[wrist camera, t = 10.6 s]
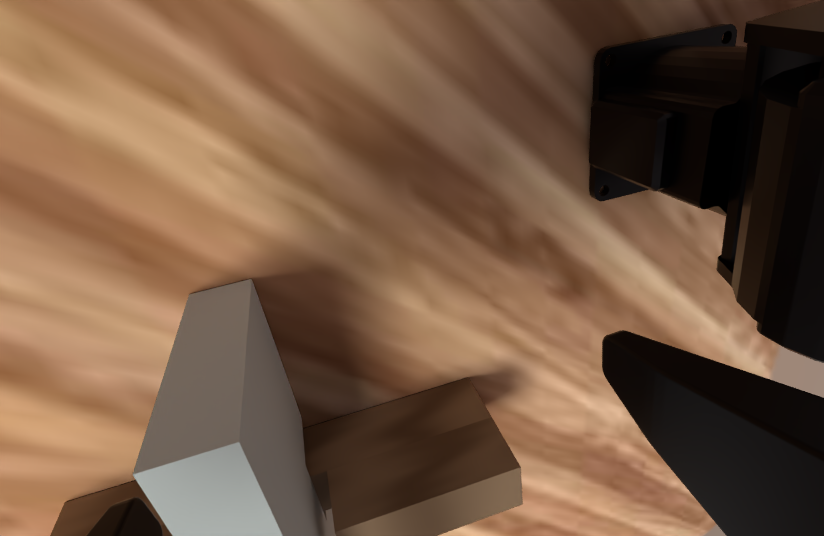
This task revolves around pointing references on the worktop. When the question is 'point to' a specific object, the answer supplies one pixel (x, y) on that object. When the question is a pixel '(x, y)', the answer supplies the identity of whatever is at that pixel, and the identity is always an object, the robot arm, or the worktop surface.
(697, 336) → the worktop surface
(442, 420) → the slotted base plate
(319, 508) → the slotted top plate
